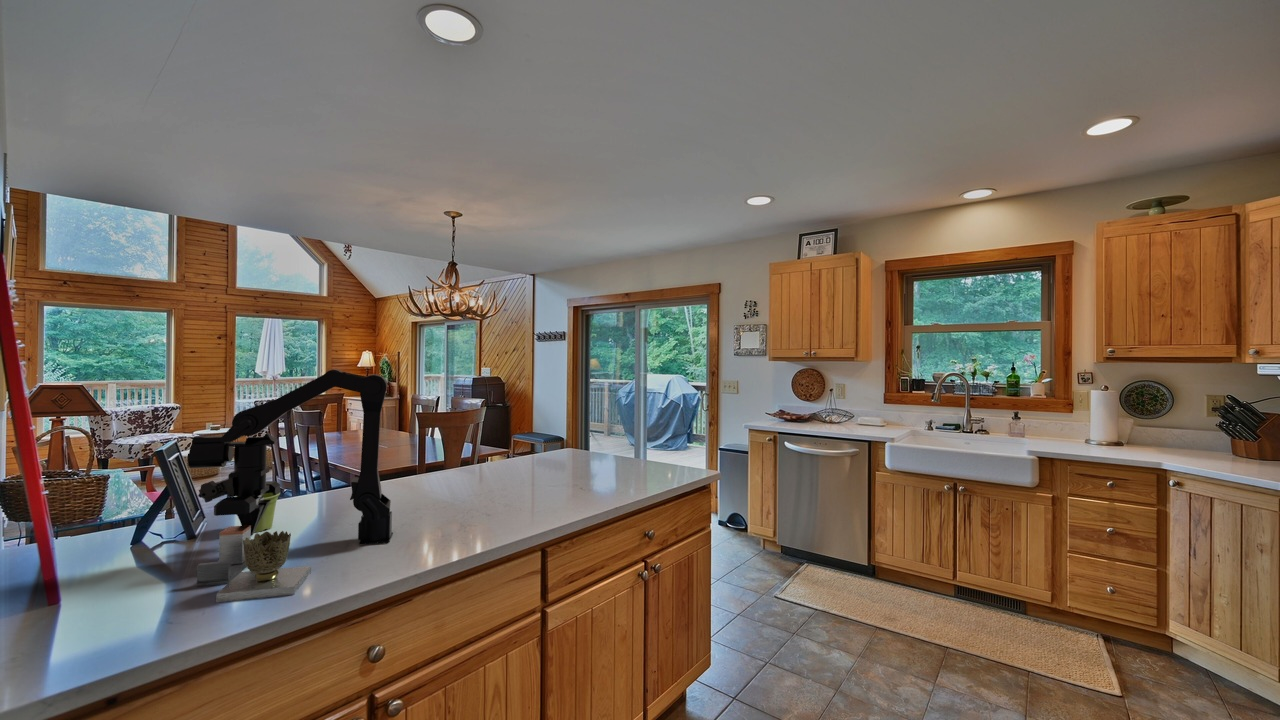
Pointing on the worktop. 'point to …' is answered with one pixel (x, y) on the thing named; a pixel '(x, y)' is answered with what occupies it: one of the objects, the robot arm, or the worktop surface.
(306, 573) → the flat plate
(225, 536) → the small box
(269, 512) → the plant pot
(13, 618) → the worktop surface
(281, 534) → the cup
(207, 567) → the press rail
